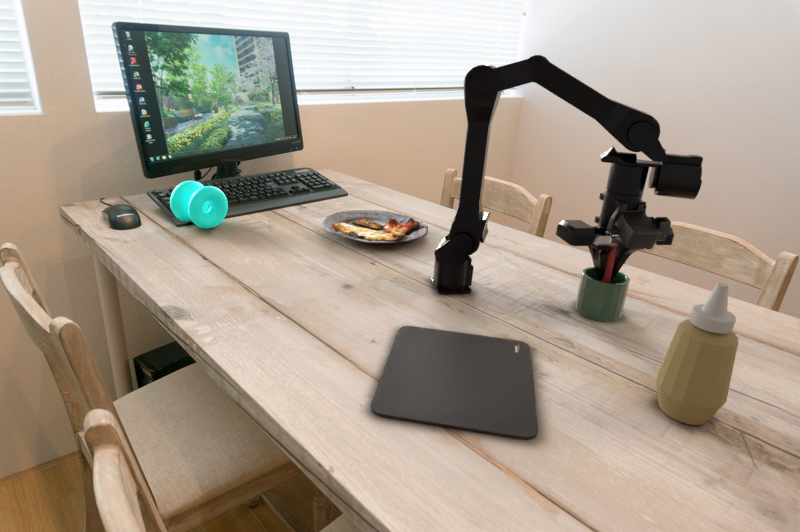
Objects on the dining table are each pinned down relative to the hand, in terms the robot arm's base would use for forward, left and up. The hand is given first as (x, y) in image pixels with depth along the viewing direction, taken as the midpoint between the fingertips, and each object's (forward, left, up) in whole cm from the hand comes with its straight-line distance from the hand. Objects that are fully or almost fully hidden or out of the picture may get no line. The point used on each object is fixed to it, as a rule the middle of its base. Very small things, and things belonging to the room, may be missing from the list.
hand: (604, 279), depth 92 cm
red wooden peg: (0, 0, -2) cm, 3 cm away
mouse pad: (-31, -17, -6) cm, 36 cm away
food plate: (-37, +40, -3) cm, 54 cm away
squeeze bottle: (-4, -28, -6) cm, 29 cm away
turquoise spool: (-75, +51, -6) cm, 91 cm away
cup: (0, 0, -6) cm, 6 cm away
